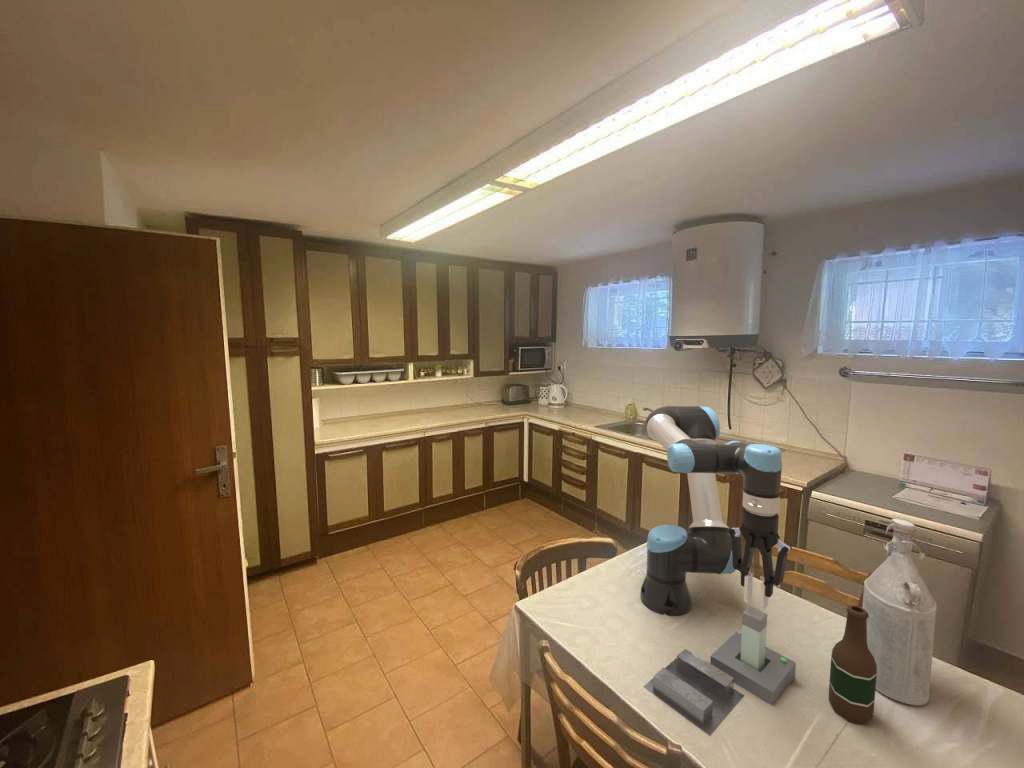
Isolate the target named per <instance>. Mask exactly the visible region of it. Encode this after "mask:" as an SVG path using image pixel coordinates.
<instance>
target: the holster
mask: <svg viewBox="0 0 1024 768" xmlns="http://www.w3.org/2000/svg"><path fill="white" fill-rule="evenodd" d="M734 687H735V683H734V678H733V677H731V676H730V675H728V674H727V673H725V672H723V671H722V670H720V669H718V668H717V667H715V666H713V665H712V664H710V662H708V661H706V660H705V659H703V658H702V657H700V656H698V655H697V654H695V653H693V652H692V651H690V650H689V649H687V648H684V649H683V650H682V651H681V652H680V653H678V654H677V655H676V658H675V659H674V660H673V661H671V662H670V663H669V664H667V666H666V667H662V668H661V669H660V670H658V671H657V673H655V674H654V675H653V677H652V678H651V679H650V680H649V681H648V682H647V683H645V685H643V688H644V689H646V690H647V691H648V692H650V693H651V694H653V695H654V696H655V697H657V698H658V699H659V700H661V701H662V702H663V703H665V704H666V705H667V706H669V707H670V708H671V709H673V710H674V711H676V712H677V713H678V714H680V715H681V716H682V717H684V718H685V719H686V720H688V721H689V722H690V723H691V724H693V725H695V726H696V727H697V728H698V729H700V730H701V731H703V733H705V734H707V735H708V736H710V737H711V735H713V733H714V732H715V731H716V730H717V728H718V727H719V726H720V725H721V723H722V722H723V721H725V719H726V718H728V716H729V714H730V713H731V712H732V711H733V710H734V709H735V707H737V705H739V702H741V700H742V699H743V698H744V697H745V695H744V694H743V693H741V692H740V691H739V690H737V689H735V688H734Z"/></svg>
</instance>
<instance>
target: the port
mask: <svg viewBox="0 0 1024 768" xmlns="http://www.w3.org/2000/svg"><path fill="white" fill-rule="evenodd" d="M741 637H742V633H740V632H738V631H735V633H733V634H732V635H731V636H730V637H729V638H727V640H726V641H725V642H724V643H722V644H721V645H720V646H719V647H718V648H717V649H716V650H715V651H714V652H713V653H712V654H711V655H710V662H709V663H710V664H712V665H713V666H715V667H717V668H718V669H720V670H722V671H723V672H725V673H727V674H728V675H730V676H731V677H733V678H734V684H736V685H737V686H739V687H740V688H742V689H745V691H748V692H749V693H751V694H752V695H754V696H756V697H758V699H760V700H762V701H764V702H766V703H767V704H769V705H770V706H773V705H774V704H775V702H776V701H777V700H778V698H779V697H780V696H781V695H782V693H783V692H784V690H785V689H786V687H787V686H789V685H790V684H792V682H793V681H794V680H795V678H796V668H797V663H796V662H795V661H794V660H793V659H790V658H788V657H786V656H784V655H783V654H781V653H779V652H776V651H774V650H773V649H770V648H769V647H767V646H766V648H765V667H764V669H763V670H762V672H759V671H757V670H756V669H754V668H752V667H750V666H749V665H747V664H745V663H743V662H741V661H740V658H741Z"/></svg>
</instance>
